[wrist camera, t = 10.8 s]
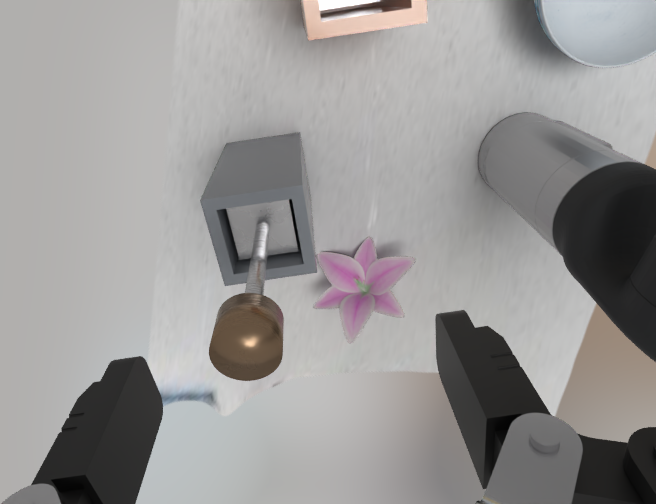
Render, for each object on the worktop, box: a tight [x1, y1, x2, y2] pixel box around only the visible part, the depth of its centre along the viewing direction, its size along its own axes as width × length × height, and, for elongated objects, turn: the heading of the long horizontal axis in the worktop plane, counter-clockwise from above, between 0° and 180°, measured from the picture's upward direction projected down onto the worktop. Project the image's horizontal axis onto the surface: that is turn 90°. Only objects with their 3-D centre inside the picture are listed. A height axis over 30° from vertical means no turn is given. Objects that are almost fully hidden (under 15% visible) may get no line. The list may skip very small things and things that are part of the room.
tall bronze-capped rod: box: [209, 199, 298, 381], centre depth 33 cm, size 5×5×16 cm
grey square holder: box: [200, 133, 317, 286], centre depth 45 cm, size 8×8×16 cm
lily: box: [313, 237, 416, 343], centre depth 56 cm, size 12×12×10 cm
